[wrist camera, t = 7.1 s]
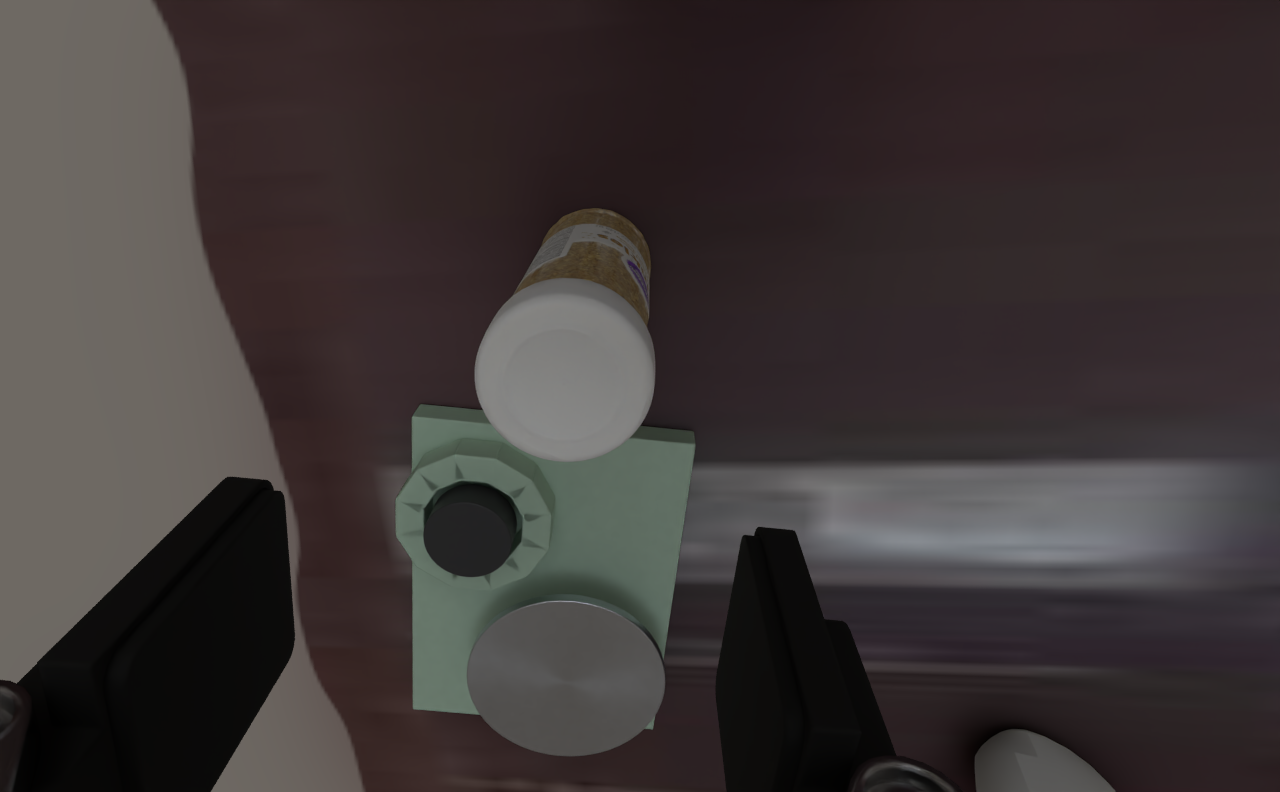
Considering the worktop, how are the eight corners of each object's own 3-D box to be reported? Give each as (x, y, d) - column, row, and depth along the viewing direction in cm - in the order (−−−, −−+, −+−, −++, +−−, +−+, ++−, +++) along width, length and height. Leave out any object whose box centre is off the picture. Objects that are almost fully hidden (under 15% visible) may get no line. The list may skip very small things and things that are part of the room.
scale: (414, 402, 34) (394, 432, 31) (694, 430, 35) (698, 461, 32) (414, 688, 40) (397, 734, 38) (652, 709, 41) (653, 755, 38)
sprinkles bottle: (673, 269, 32) (693, 398, 20) (588, 337, 33) (557, 500, 21) (599, 180, 31) (570, 257, 18) (514, 254, 32) (431, 375, 19)
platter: (471, 584, 34) (468, 591, 34) (676, 603, 35) (677, 610, 34) (466, 740, 38) (464, 748, 37) (653, 755, 38) (653, 764, 38)
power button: (432, 479, 33) (422, 498, 31) (519, 487, 33) (513, 506, 31) (431, 552, 34) (422, 573, 33) (515, 560, 34) (509, 581, 33)
